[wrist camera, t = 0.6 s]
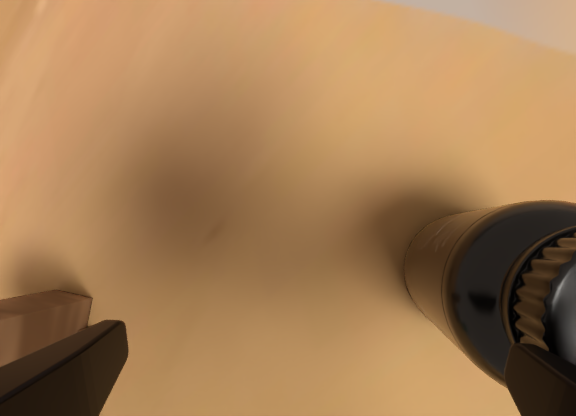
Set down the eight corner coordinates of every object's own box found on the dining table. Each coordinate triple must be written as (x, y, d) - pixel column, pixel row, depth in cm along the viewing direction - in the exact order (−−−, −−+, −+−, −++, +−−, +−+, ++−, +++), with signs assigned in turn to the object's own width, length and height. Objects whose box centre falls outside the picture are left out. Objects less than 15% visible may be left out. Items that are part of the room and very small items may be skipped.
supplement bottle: (408, 332, 19) (505, 485, 7) (397, 218, 20) (469, 192, 8) (535, 330, 18) (901, 512, 6) (519, 210, 18) (816, 163, 7)
